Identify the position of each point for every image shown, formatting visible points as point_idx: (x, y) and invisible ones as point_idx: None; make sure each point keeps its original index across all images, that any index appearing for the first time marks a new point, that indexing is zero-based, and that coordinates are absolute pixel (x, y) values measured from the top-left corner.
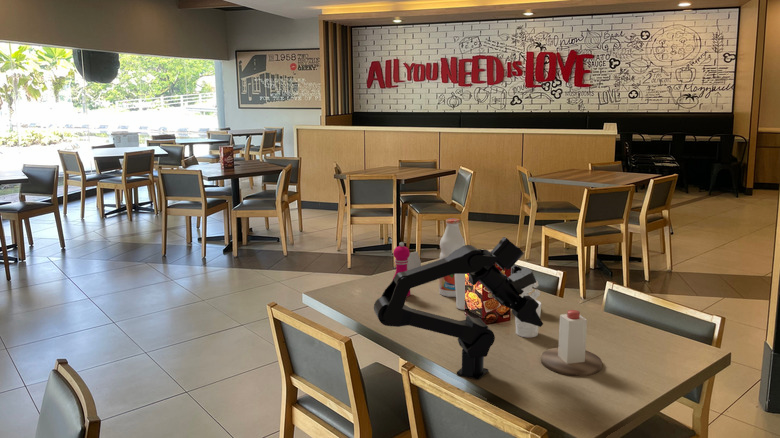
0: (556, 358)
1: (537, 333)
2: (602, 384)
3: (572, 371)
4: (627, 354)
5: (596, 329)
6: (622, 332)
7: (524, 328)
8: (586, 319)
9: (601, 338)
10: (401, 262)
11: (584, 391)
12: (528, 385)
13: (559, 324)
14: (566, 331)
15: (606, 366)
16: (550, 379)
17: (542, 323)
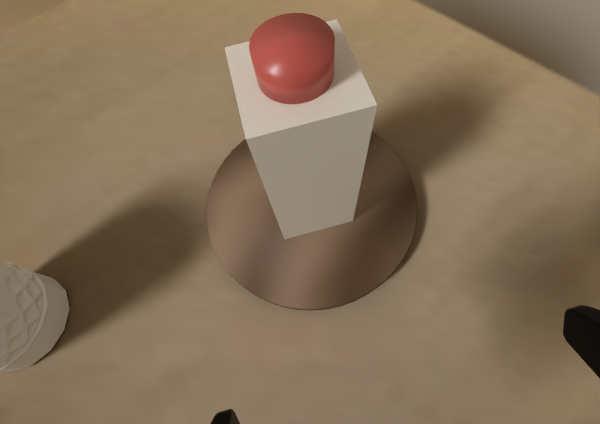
0: (308, 249)
1: (51, 279)
2: (460, 146)
3: (415, 213)
4: None
5: (62, 94)
6: (101, 42)
7: (26, 339)
8: (331, 21)
9: (129, 93)
10: None
11: (529, 204)
12: (545, 408)
13: (260, 176)
14: (344, 159)
15: None
16: (461, 301)
17: (595, 312)
